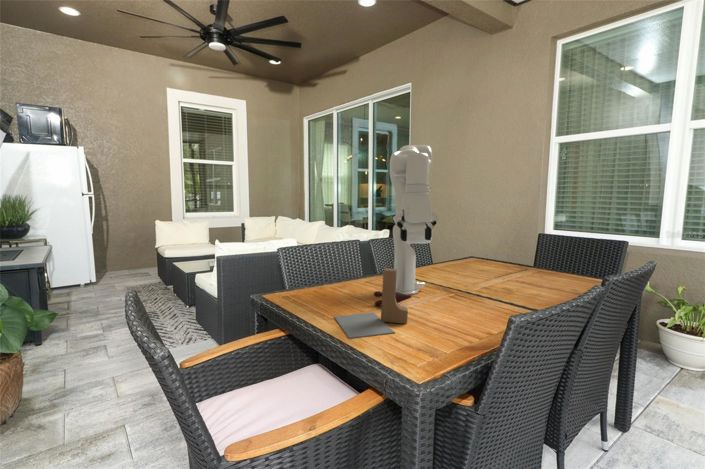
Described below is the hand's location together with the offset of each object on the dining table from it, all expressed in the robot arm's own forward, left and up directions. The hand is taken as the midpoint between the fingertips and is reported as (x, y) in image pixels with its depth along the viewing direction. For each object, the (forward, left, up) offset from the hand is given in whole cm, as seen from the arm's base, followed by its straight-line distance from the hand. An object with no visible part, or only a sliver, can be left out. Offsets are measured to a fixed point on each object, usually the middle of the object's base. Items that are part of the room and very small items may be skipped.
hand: (415, 240), depth 123 cm
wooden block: (+8, 0, -28) cm, 29 cm away
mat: (+19, 0, -28) cm, 34 cm away
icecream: (+1, -17, -28) cm, 33 cm away
